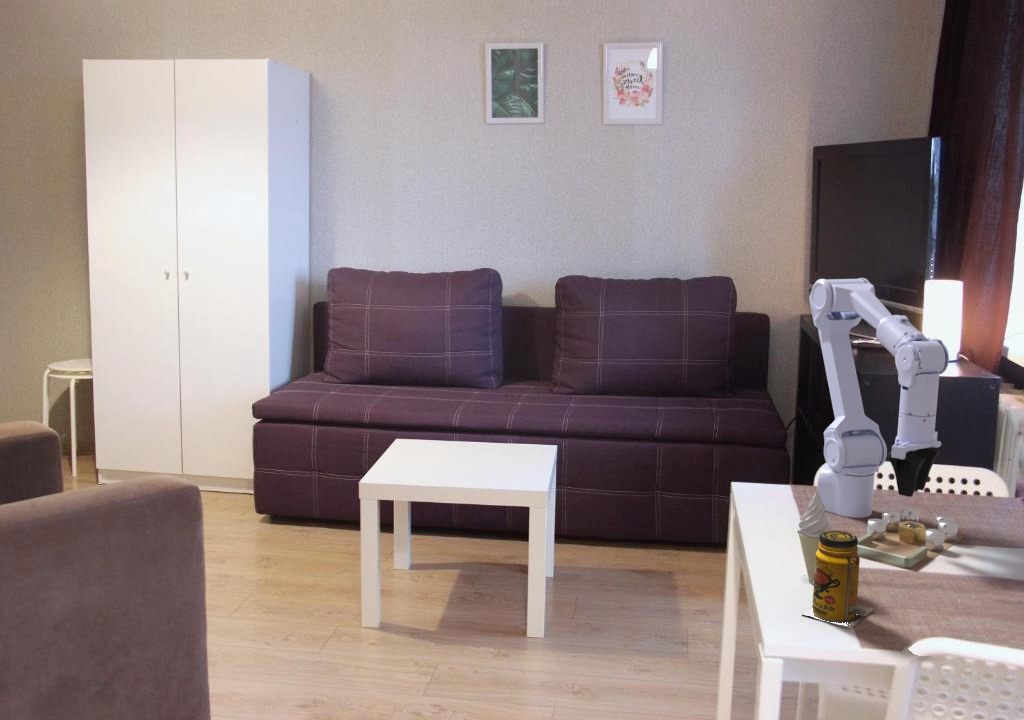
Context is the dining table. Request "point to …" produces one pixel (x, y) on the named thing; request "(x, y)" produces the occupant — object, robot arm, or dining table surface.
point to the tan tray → (897, 551)
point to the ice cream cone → (812, 532)
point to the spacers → (933, 537)
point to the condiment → (837, 579)
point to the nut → (911, 532)
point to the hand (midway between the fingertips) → (911, 492)
